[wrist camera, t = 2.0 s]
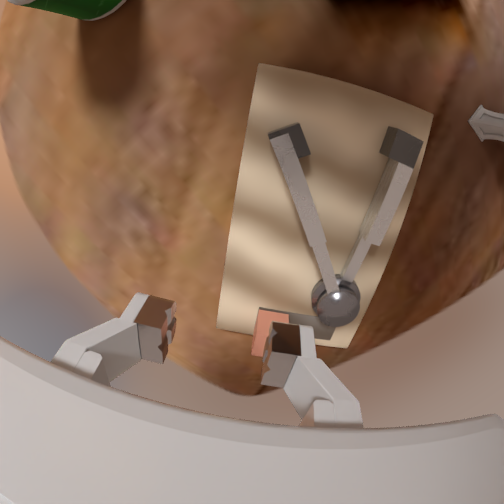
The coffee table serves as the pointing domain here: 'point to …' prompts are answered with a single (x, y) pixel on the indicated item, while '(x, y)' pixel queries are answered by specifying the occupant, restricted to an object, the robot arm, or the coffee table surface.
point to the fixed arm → (379, 205)
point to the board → (322, 191)
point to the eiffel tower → (487, 124)
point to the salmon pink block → (265, 329)
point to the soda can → (75, 7)
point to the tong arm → (313, 226)
